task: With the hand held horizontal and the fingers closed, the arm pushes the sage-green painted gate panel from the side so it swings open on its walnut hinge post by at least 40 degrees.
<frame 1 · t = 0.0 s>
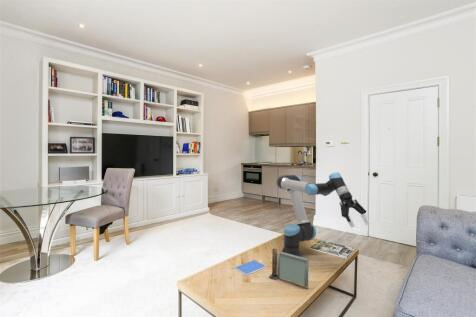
hand: (360, 225, 146), 36 cm above the table, tool tilted 35°, fingers open, 13 cm apart
hinge post: (274, 277, 152), on the table
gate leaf: (292, 268, 145), point 9 cm above the table, hinge at 0.0°
tablet computer: (250, 268, 165), on the table
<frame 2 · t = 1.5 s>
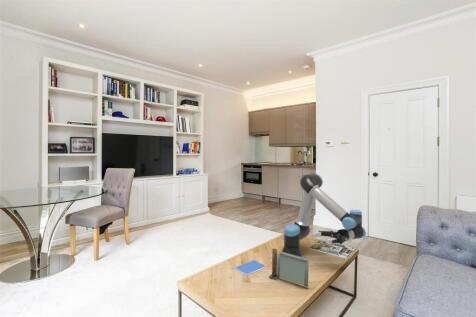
hand: (319, 238, 154), 24 cm above the table, tool horizontal, fingers open, 13 cm apart
nothing on the table moved.
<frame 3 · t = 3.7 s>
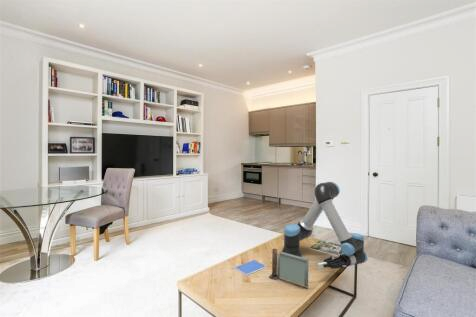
hand: (318, 266, 148), 10 cm above the table, tool horizontal, fingers closed
nothing on the table moved.
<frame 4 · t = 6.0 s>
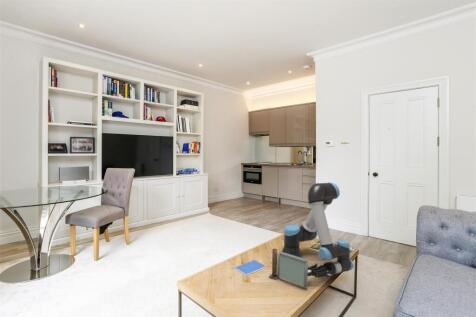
hand: (301, 274, 142), 7 cm above the table, tool horizontal, fingers closed
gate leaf: (291, 268, 145), point 9 cm above the table, hinge at 3.8°, touching gripper
everything else where it was.
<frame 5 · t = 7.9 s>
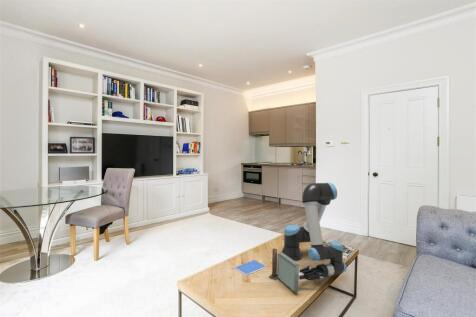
hand: (293, 277, 139), 7 cm above the table, tool horizontal, fingers closed, pressing on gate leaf
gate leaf: (287, 270, 142), point 9 cm above the table, hinge at 31.5°, touching gripper
everything else where it was.
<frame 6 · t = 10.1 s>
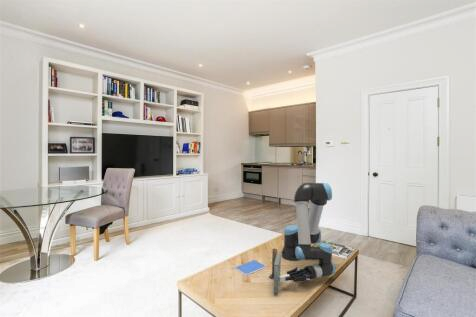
hand: (279, 279, 137), 7 cm above the table, tool horizontal, fingers closed
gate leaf: (277, 270, 142), point 9 cm above the table, hinge at 70.2°, touching gripper
everything else where it was.
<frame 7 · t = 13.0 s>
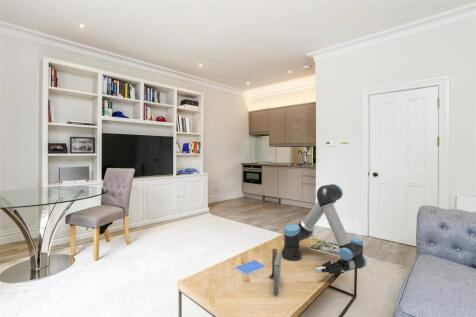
hand: (316, 270, 147), 7 cm above the table, tool horizontal, fingers closed
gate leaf: (277, 270, 142), point 9 cm above the table, hinge at 70.2°
everything else where it was.
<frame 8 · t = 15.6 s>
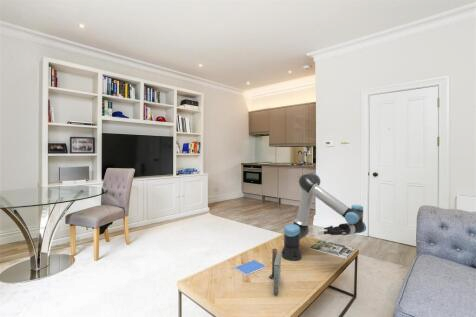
hand: (319, 232, 155), 28 cm above the table, tool horizontal, fingers closed
nothing on the table moved.
at the end: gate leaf at +70° (first picture: +0°) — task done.
